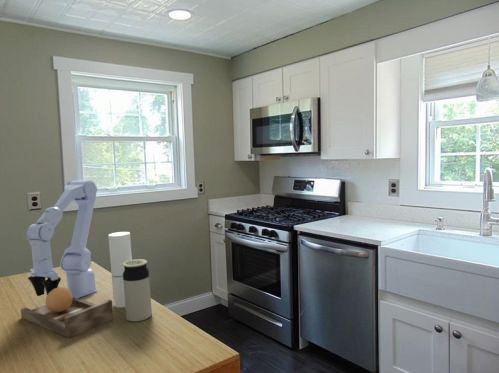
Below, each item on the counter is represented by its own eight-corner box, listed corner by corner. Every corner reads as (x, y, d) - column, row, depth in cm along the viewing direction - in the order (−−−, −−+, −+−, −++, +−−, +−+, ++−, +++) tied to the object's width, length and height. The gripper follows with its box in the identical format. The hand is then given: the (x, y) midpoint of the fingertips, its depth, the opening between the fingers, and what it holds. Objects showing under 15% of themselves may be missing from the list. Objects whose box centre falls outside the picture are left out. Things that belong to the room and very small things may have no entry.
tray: (65, 302, 138) (63, 286, 138) (113, 318, 122) (111, 300, 122) (21, 317, 126) (19, 300, 126) (68, 338, 110) (66, 318, 109)
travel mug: (138, 324, 117) (133, 267, 115) (120, 319, 121) (116, 264, 120) (157, 314, 124) (153, 260, 122) (140, 310, 128) (136, 257, 126)
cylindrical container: (139, 300, 136) (134, 232, 134) (125, 308, 130) (119, 236, 128) (124, 298, 139) (118, 231, 137) (109, 305, 133) (103, 235, 131)
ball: (63, 299, 132) (66, 279, 130) (75, 312, 128) (78, 292, 126) (39, 307, 126) (42, 287, 123) (51, 321, 122) (54, 300, 119)
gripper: (19, 259, 130) (23, 297, 132) (41, 264, 122) (45, 305, 123) (40, 253, 136) (44, 290, 137) (62, 258, 128) (66, 297, 129)
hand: (46, 297), depth 131 cm, fingers open, 7 cm apart
